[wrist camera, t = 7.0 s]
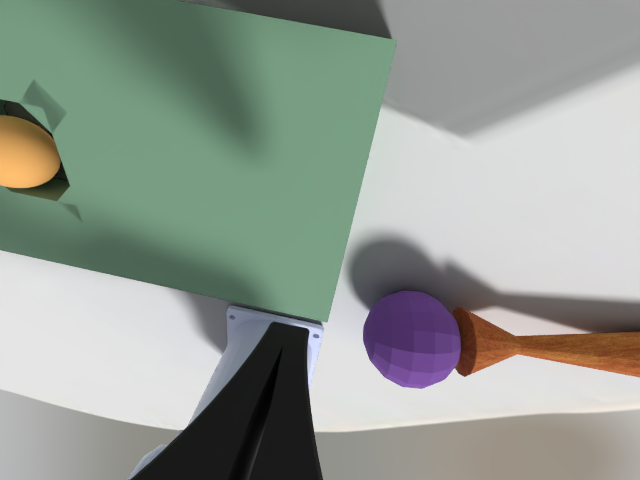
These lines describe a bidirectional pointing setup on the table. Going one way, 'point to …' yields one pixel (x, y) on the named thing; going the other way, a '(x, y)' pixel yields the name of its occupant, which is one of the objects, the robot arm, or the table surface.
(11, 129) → the ball
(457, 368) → the kendama
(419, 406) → the table surface
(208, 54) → the putting mat
